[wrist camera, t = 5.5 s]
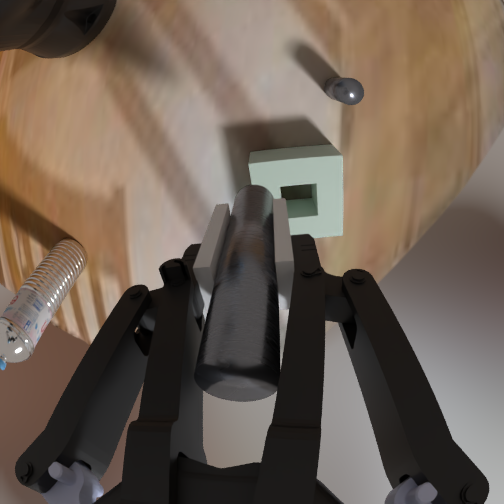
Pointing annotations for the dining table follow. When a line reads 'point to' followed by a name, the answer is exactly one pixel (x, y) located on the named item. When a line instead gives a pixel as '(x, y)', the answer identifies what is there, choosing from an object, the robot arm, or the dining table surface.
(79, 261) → the water bottle
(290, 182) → the hole block
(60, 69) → the dining table surface
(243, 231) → the long pin
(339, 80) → the short pin
